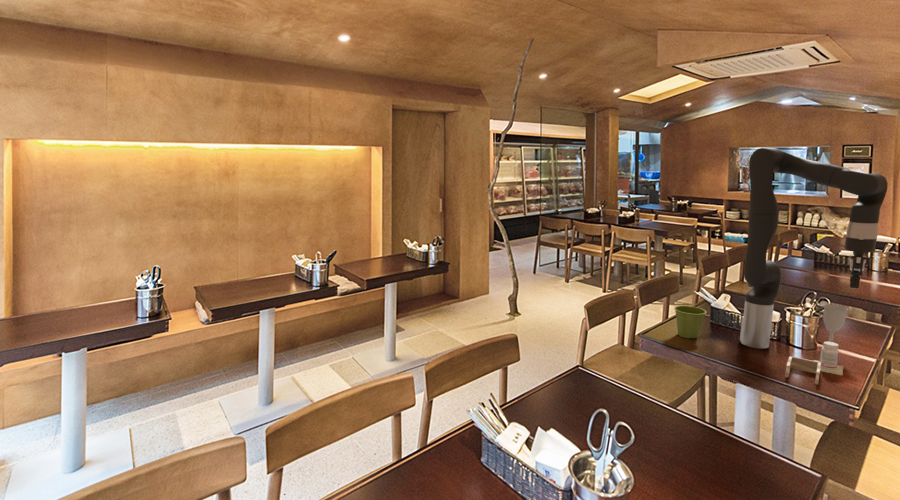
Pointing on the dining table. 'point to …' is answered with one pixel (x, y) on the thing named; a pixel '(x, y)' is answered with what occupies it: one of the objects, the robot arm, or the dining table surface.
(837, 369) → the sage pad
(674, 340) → the dining table surface
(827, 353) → the pill bottle
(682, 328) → the plant pot
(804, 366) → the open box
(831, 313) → the chalice
